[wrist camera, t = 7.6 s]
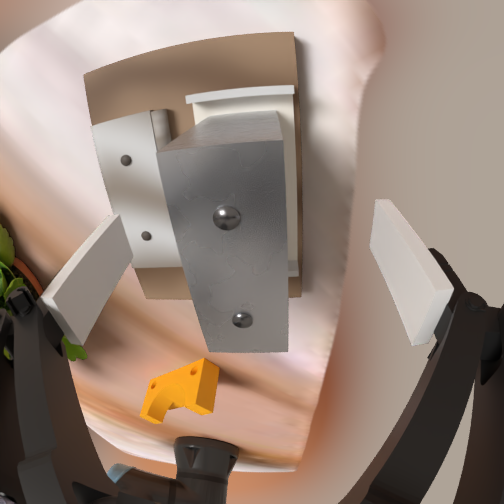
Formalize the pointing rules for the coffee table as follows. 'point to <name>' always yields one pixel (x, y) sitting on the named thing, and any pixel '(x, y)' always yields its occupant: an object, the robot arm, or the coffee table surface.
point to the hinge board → (174, 135)
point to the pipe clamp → (182, 391)
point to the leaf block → (232, 227)
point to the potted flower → (18, 274)
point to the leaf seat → (283, 104)
